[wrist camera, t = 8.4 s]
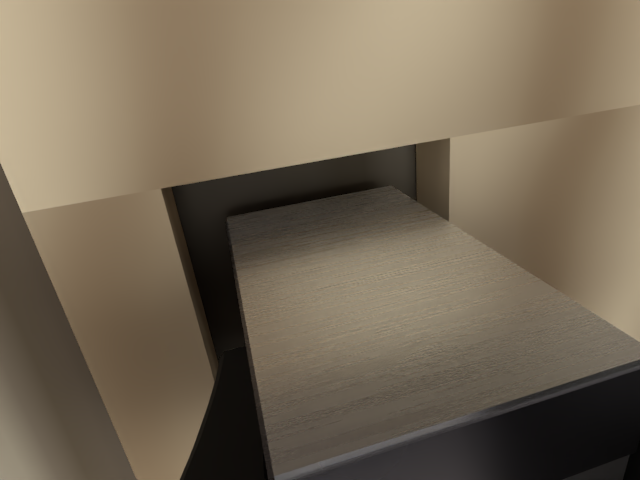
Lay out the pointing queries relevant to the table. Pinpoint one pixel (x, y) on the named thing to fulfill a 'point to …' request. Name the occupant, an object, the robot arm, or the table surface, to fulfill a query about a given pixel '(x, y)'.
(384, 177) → the table surface
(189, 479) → the robot arm
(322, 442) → the loose billet
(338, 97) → the wooden frame board
